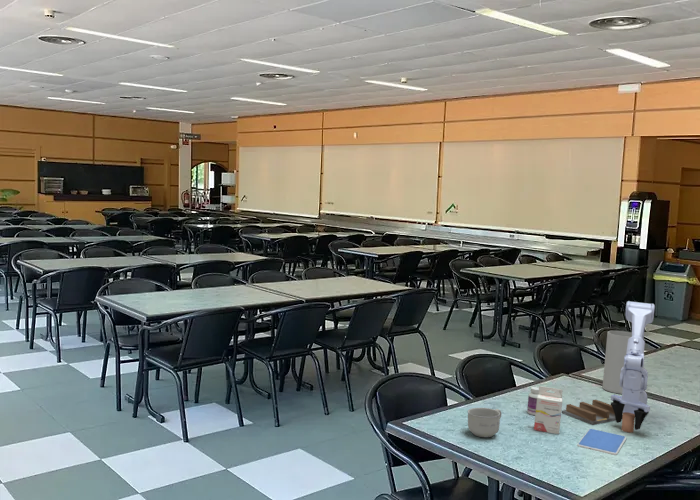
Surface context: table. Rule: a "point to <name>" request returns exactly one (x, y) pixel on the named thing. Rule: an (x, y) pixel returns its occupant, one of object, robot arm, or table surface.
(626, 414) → the terracotta plug
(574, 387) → the table surface
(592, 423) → the comb rack
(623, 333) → the cylinder vase
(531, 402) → the pill bottle
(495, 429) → the teacup
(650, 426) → the table surface
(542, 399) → the ink cartridge box
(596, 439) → the tablet computer
